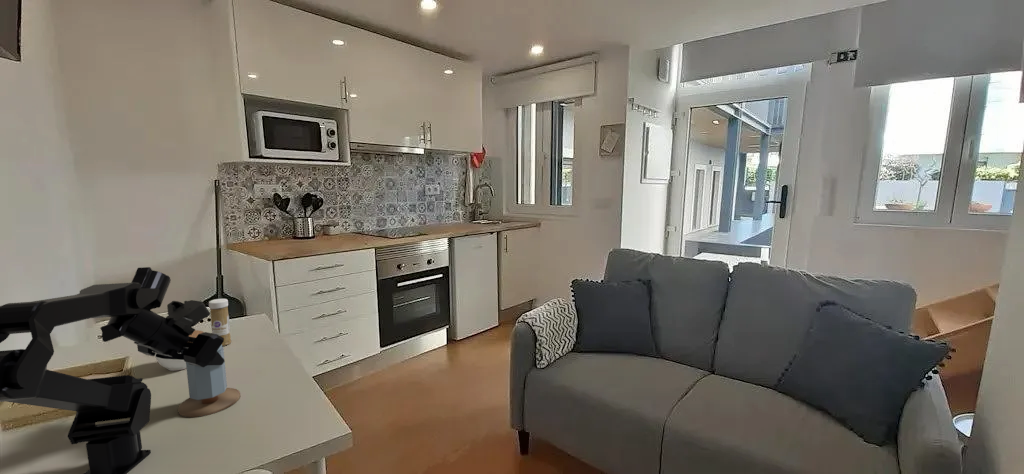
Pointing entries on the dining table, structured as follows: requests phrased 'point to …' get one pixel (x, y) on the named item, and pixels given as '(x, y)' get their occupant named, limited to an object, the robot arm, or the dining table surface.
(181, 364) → the lidded jar
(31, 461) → the dining table surface
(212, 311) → the sprinkles bottle
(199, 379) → the blue dome cap nut
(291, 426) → the dining table surface
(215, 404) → the brown pegged disc
